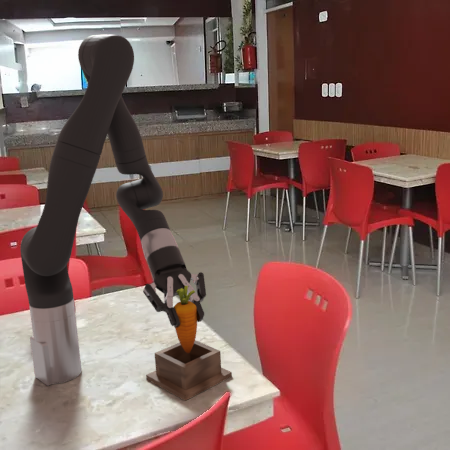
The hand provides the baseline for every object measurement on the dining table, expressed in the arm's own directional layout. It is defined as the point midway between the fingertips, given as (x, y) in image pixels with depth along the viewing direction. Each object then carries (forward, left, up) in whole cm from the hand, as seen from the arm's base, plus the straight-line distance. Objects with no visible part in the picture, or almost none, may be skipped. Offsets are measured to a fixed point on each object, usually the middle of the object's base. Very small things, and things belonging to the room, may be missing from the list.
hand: (189, 322), depth 113 cm
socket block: (0, +2, -13) cm, 13 cm away
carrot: (+1, +2, -8) cm, 8 cm away
